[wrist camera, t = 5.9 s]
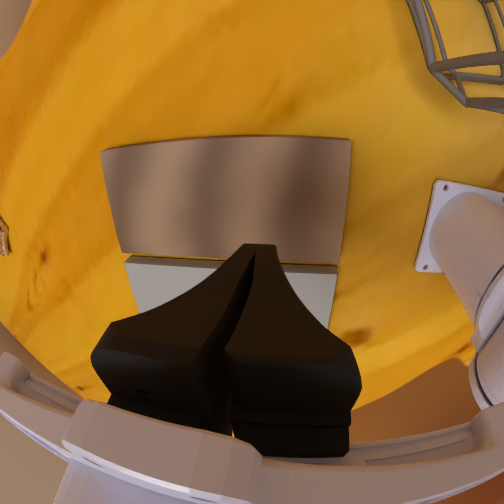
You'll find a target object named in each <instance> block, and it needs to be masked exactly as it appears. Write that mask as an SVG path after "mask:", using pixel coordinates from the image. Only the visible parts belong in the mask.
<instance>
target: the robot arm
mask: <svg viewBox="0 0 504 504" xmlns="http://www.w3.org/2000/svg"><path fill="white" fill-rule="evenodd" d="M444 185H446V189H444V190H443V187H444ZM503 197H504V193H503V192H498V191H494V190H490V189H486V188H481V187H477V186H472V185H467V184H462V183H457V182H452V181H446V180H440V179H439V180H436V181H435V182H434V186H433V191H432V197H431V202H430V206H429V211H428V216H427V220H426V224H425V229H424V233H423V236H422V240H421V244H420V248H419V251H418V255H417V258H416V262H415V265H414V267H415V269H416V271H417V272H443V274H444V275H445V277H446V278H447V280H448V281H449V283H450V285H451V286H452V288H453V289H454V291H455V293H456V294H457V296H458V298H459V299H460V301H461V303H462V304H463V306H464V308H465V310H466V312H467V313H468V315H469V317H470V319H471V321H472V322H473V324H474V326H475V332H474V334H473V336H472V337H471V341H472V343H473V345H474V347H475V350H476V353H475V354H474V356H473V358H472V360H471V362H470V366H469V380H470V386H471V389H472V392H473V395H474V398H475V400H476V402H477V404H478V405H479V407H480V408H481V410H482V411H481V412H479V413H478V414H477V415H476V416H475V417H474V418H473V419H472V420H471V422H468V423H464V424H461V425H457V426H454V427H450V428H446V429H442V430H438V431H433V432H429V433H424V434H419V435H414V436H408V437H403V438H396V439H389V440H381V441H372V442H361V443H349V426H350V425H351V409H352V408H353V406H354V404H355V402H356V401H357V399H358V397H359V395H360V392H361V389H362V383H361V376H360V372H359V368H358V365H357V362H356V359H355V357H354V354H353V352H352V349H351V347H350V346H349V345H348V344H346V343H345V342H343V341H342V340H341V339H339V338H338V337H337V336H335V335H334V334H333V333H331V332H330V331H329V330H328V329H327V328H325V327H324V326H323V325H322V324H321V323H320V322H319V321H318V320H317V319H316V318H315V316H314V315H313V314H312V313H311V312H310V311H309V310H308V309H307V308H306V306H305V305H304V304H303V302H302V301H301V300H300V298H299V297H298V296H297V294H296V293H295V291H294V289H293V288H292V286H291V284H290V283H289V281H288V279H287V277H286V275H285V273H284V270H283V268H282V266H281V263H280V261H279V257H278V254H277V247H276V246H275V245H274V244H251V243H244V244H243V245H241V246H240V247H239V248H238V249H237V250H236V251H235V252H234V253H233V254H232V255H231V256H230V257H229V258H228V259H227V260H226V261H225V262H224V263H223V264H222V265H221V266H220V267H219V268H218V269H216V270H215V271H214V272H213V273H212V274H210V275H209V276H208V277H207V278H206V279H204V280H203V281H201V282H200V283H199V284H197V285H196V286H194V287H193V288H191V289H190V290H188V291H186V292H185V293H183V294H181V295H179V296H177V297H176V298H174V299H172V300H170V301H168V302H166V303H164V304H162V305H160V306H158V307H155V308H153V309H151V310H148V311H146V312H143V313H140V314H138V315H135V316H131V317H128V318H125V319H122V320H118V321H115V322H111V324H110V325H109V326H108V328H107V329H106V331H105V332H104V334H103V336H102V337H101V339H100V340H99V342H98V343H97V345H96V347H95V348H94V350H93V351H92V354H91V357H90V358H91V363H92V366H93V368H94V370H95V371H96V373H97V374H98V376H99V377H100V379H101V380H102V382H103V383H104V384H105V386H106V387H107V388H108V390H109V391H110V392H111V396H110V398H109V400H108V403H107V404H106V403H103V402H99V401H95V400H91V399H87V400H85V399H83V398H80V397H78V396H76V395H73V394H71V393H69V392H67V391H64V390H62V389H60V388H58V387H56V386H54V385H52V384H50V383H48V382H46V381H44V380H42V379H40V378H38V377H37V376H35V375H33V374H31V373H30V372H29V370H28V369H27V367H26V366H25V365H24V364H23V363H22V362H21V361H20V360H19V359H18V358H16V357H15V356H13V355H11V354H9V353H8V352H5V351H4V353H3V354H2V356H1V357H0V413H1V414H2V415H3V416H4V417H5V418H6V419H7V420H9V421H10V422H11V423H12V424H13V425H14V426H16V427H17V428H18V429H20V430H21V431H22V432H24V433H25V434H26V435H28V436H29V437H30V438H32V439H33V440H35V441H36V442H37V443H39V444H40V445H42V446H43V447H45V448H46V449H48V450H49V451H51V452H52V453H54V454H55V455H57V456H59V457H60V458H62V459H63V460H65V461H67V462H68V463H69V465H68V467H67V470H66V472H65V475H64V477H63V479H62V482H61V484H60V487H59V489H58V492H57V495H56V497H55V500H54V503H53V504H431V503H434V502H437V501H440V500H442V499H445V498H448V497H450V496H453V495H456V494H458V493H461V492H463V491H466V490H468V489H470V488H473V487H475V486H477V485H479V484H481V483H483V482H485V481H487V480H489V479H490V478H492V477H494V476H496V475H498V474H500V473H501V472H503V471H504V198H503ZM502 199H503V200H502ZM425 265H426V266H425ZM424 266H425V267H424ZM232 432H233V433H234V437H235V438H234V437H232Z"/></svg>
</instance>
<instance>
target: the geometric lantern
mask: <svg viewBox="0 0 504 504" xmlns="http://www.w3.org/2000/svg"><path fill="white" fill-rule="evenodd" d="M423 1H424V3H425V6H426V9H427V11H428V14H429V17H430V19H431V22H432V25H433V28H434V31H435V34H436V38H437V41H438V44H439V48H440V52H441V55H442V59H443V61H438V62H436V58H435V52H434V47H433V42H432V38H431V33H430V29H429V25H428V21H427V17H426V14H425V10H424V7H423V3H422V0H413V3H414V6H415V8H414V6H413V3H412V1H411V0H407V3H408V5H409V8H410V11H411V13H412V16H413V19H414V22H415V25H416V28H417V31H418V34H419V37H420V41H421V44H422V48H423V51H424V55H425V59H426V63H427V66H428V69H429V71H430V73H431V74H432V75H433V76H434V77H435V78H436V79H437V80H438V81H439V82H440V83H441V84H442V85H443V86H444V87H445V88H446V89H447V90H448V91H449V92H450V93H451V94H452V95H453V96H454V97H455V98H456V99H457V100H458V101H459V102H460V103H461V104H462V105H463V106H465V107H466V108H468V107H470V108H476V109H482V110H487V111H493V112H497V113H502V114H504V98H498V97H483V98H467V96H466V94H465V91H464V88H463V85H462V83H461V81H473V82H482V83H490V84H497V85H502V84H503V83H504V51H501V48H500V44H499V41H498V37H497V34H496V31H495V28H494V25H493V22H492V19H491V16H490V13H489V10H488V8H487V5H486V3H489V2H494V4H495V6H496V9H497V11H498V14H499V16H500V19H501V22H502V24H503V27H504V17H503V15H502V12H501V10H500V7H499V5H498V2H497V0H479V1H480V2H481V3H482V4H483V7H484V9H485V12H486V15H487V17H488V20H489V23H490V26H491V29H492V33H493V36H494V39H495V43H496V46H497V50H498V51H497V52H489V53H481V54H475V55H469V56H463V57H457V58H452V59H447V55H446V52H445V48H444V44H443V41H442V38H441V34H440V31H439V28H438V25H437V22H436V19H435V17H434V14H433V11H432V8H431V6H430V3H429V1H428V0H423ZM415 10H416V11H415ZM416 13H417V14H416ZM500 64H501V67H502V74H501V77H497V76H490V75H483V74H474V73H463V72H456V71H455V70H454V69H459V68H466V67H475V66H486V65H500ZM446 70H448V71H449V72H450V73H444V74H442V73H441V71H446ZM450 80H456V83H457V86H458V89H459V90H458V89H457V87H456V86H455V85H454V84H453V83H452V82H451V81H450Z"/></svg>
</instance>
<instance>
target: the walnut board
mask: <svg viewBox="0 0 504 504" xmlns="http://www.w3.org/2000/svg"><path fill="white" fill-rule="evenodd" d="M351 148H352V141H351V140H349V139H345V138H333V137H318V136H296V135H232V136H210V137H195V138H183V139H172V140H163V141H154V142H146V143H139V144H132V145H125V146H119V147H113V148H108V149H105V150H103V151H100V155H101V162H102V167H103V173H104V178H105V184H106V189H107V194H108V198H109V203H110V207H111V212H112V216H113V220H114V224H115V228H116V232H117V236H118V240H119V243H120V247H121V251H122V253H137V254H155V255H174V256H194V257H214V258H229V257H230V256H231V255H232V254H233V253H234V252H235V251H236V250H237V249H238V248H239V247H240V246H241V245H243V244H244V243H251V244H274V245H275V246H276V247H277V254H278V257H279V261H301V262H325V263H339V259H340V252H341V246H342V239H343V231H344V223H345V215H346V206H347V197H348V187H349V176H350V163H351Z"/></svg>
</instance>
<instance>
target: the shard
mask: <svg viewBox="0 0 504 504" xmlns="http://www.w3.org/2000/svg"><path fill="white" fill-rule="evenodd" d="M7 236H8V227H7V225H6V224H5V223H4V222H3V221H2V219H1V218H0V254H2V255H3V256H5V257H6V256H8V255H9V248H8V242H7Z"/></svg>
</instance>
